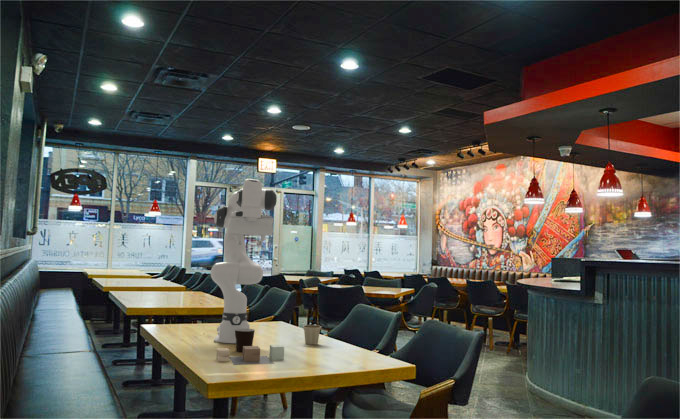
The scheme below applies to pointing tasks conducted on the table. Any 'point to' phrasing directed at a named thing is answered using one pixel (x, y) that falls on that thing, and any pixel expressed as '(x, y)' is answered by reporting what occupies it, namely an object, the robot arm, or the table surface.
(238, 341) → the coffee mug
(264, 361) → the plate
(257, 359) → the walnut block
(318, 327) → the flower pot
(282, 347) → the sage block
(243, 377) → the table surface
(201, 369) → the table surface
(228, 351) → the maple block
